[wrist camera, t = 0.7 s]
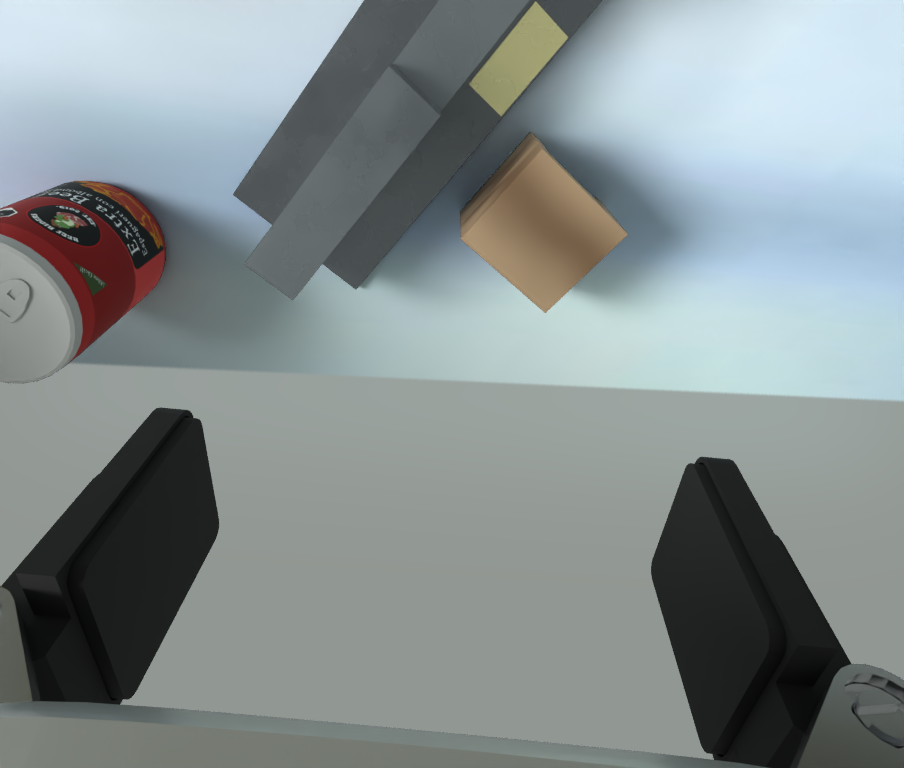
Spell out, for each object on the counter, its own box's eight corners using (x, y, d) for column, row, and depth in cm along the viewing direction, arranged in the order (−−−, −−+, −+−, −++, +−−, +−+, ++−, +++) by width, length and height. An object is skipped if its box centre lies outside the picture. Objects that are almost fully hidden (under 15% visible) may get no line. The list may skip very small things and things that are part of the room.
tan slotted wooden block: (534, 277, 38) (545, 313, 34) (460, 211, 36) (460, 239, 32) (605, 206, 36) (627, 234, 31) (530, 131, 34) (542, 148, 29)
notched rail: (357, 286, 39) (338, 334, 33) (236, 192, 36) (191, 226, 30) (641, -49, 30) (689, -68, 24) (511, -214, 27) (527, -284, 21)
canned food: (191, 227, 37) (99, 297, 27) (141, 321, 40) (44, 412, 31) (67, 148, 35) (-79, 194, 25) (25, 254, 38) (-119, 331, 28)
